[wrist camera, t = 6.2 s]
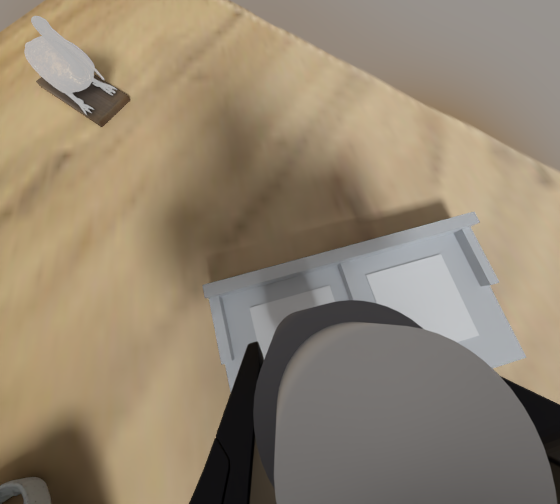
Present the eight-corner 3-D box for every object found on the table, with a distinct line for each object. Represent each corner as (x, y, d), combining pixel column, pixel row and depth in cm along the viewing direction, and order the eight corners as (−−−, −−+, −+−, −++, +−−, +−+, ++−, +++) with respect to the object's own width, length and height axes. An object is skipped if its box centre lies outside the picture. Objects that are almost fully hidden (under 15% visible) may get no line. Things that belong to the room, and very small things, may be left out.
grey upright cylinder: (351, 330, 16) (625, 391, 3) (322, 397, 15) (561, 875, 2) (292, 298, 16) (328, 241, 4) (259, 360, 15) (163, 563, 3)
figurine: (159, 118, 25) (97, 21, 17) (131, 147, 24) (50, 60, 16) (71, 63, 27) (-23, -47, 19) (42, 88, 26) (-71, -16, 18)
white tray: (452, 223, 22) (474, 211, 19) (520, 356, 19) (555, 362, 16) (211, 288, 20) (202, 285, 18) (242, 445, 17) (236, 467, 15)
